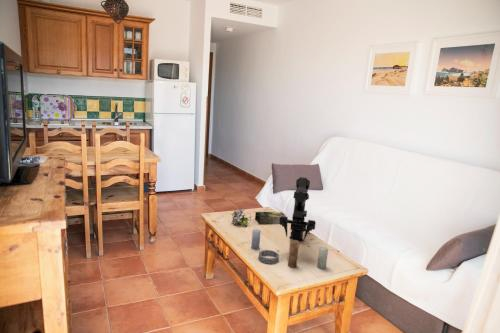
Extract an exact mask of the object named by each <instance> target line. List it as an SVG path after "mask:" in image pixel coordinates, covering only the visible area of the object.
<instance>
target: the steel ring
mask: <svg viewBox="0 0 500 333" xmlns="http://www.w3.org/2000/svg"><path fill="white" fill-rule="evenodd" d="M265 256H270V257H273V258H270V257H265ZM279 258H280V254H279V253H278V252H276V251H274V250H269V249H264V250H260V251H259V252H258V259H257V260H258V261H260V262H261V263H263V264H268V265H275V264H277V263H278V262H279Z"/></svg>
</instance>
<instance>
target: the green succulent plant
mask: <svg viewBox="0 0 500 333" xmlns="http://www.w3.org/2000/svg"><path fill="white" fill-rule="evenodd" d="M244 211H245V209H244V208H243V209H239V210H234V211H233V213H232V214H231V215H232V221H233V223H232V224H233V225H235V224H237V223H238V222H240V226H241V227H242V228H244V225H245V227H246V226H247V225H248V223H249V222H248V221H250V222H251V221H252V218H251V216H249V217H245V213H244Z"/></svg>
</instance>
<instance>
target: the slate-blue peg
mask: <svg viewBox="0 0 500 333" xmlns="http://www.w3.org/2000/svg"><path fill="white" fill-rule="evenodd" d="M251 235H252V236H251V246H250V247H251V249H253V250H255V251H256V250H259V249H260V245H261V244H260V243H261V230H260V229H258V228H256V229H254V228H253V230H252V234H251Z"/></svg>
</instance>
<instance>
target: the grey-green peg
mask: <svg viewBox="0 0 500 333" xmlns="http://www.w3.org/2000/svg"><path fill="white" fill-rule="evenodd" d="M328 254H329V248H327V247H326V246H320V247H319V248H318V254H317V255H318V256H317V264H316V267H317V268H318V269H319V270H325V269H327V260H328Z"/></svg>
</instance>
